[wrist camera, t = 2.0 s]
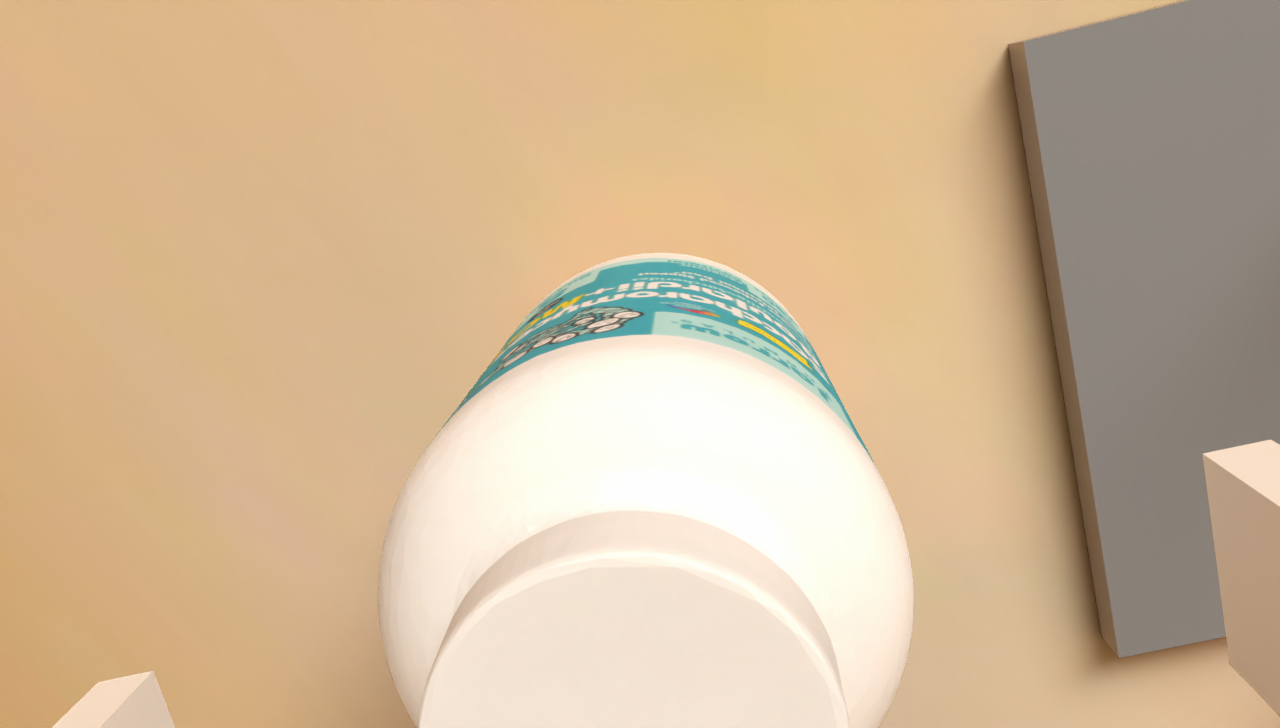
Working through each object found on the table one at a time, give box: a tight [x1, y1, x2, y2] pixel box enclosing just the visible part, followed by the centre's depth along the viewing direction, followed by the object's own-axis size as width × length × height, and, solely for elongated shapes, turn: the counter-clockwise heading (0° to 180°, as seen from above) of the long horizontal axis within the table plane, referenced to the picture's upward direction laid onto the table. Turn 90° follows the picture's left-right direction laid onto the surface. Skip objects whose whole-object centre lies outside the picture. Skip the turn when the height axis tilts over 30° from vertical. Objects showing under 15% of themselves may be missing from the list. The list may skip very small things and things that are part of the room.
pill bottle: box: [378, 253, 914, 728], centre depth 18 cm, size 8×7×14 cm
